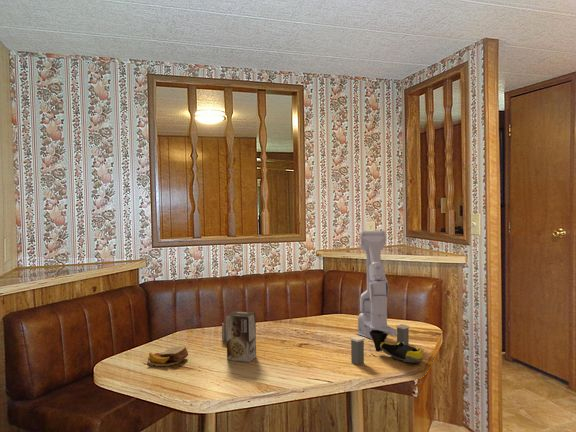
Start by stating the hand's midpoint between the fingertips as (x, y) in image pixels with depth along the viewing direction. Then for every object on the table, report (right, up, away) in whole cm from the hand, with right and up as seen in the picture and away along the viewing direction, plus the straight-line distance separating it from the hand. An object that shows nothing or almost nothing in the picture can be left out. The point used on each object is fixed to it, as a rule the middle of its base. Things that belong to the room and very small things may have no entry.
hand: (379, 350), depth 157 cm
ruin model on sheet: (-54, -2, +20) cm, 58 cm away
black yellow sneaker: (+7, -2, -6) cm, 9 cm away
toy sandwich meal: (-76, -3, -3) cm, 76 cm away
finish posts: (+1, -1, -1) cm, 2 cm away
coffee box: (-50, -2, -2) cm, 50 cm away
